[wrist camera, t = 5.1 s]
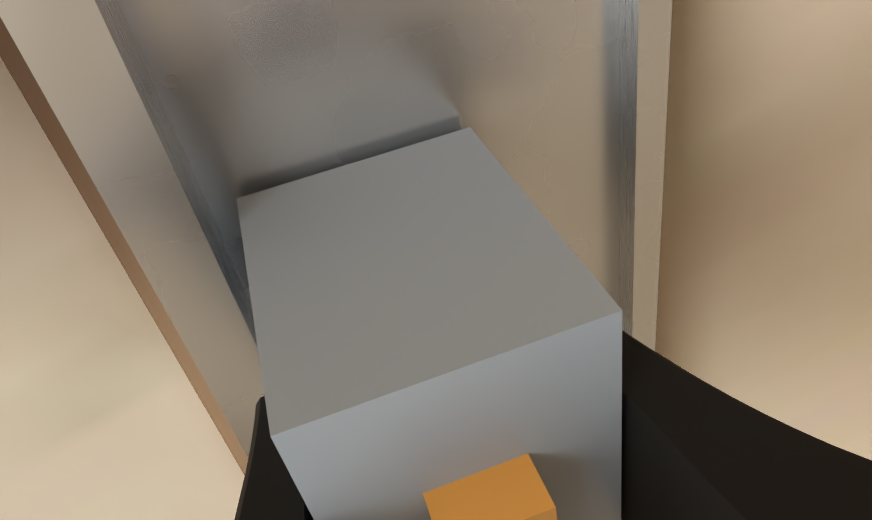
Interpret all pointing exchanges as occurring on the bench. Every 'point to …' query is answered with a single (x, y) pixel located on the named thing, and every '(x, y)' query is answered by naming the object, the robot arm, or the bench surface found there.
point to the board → (113, 233)
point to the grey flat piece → (350, 128)
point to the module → (433, 343)
